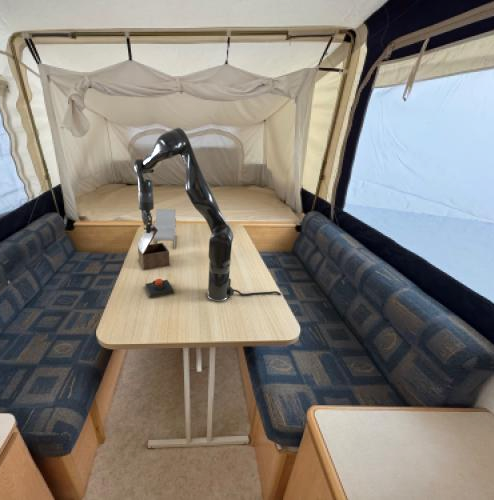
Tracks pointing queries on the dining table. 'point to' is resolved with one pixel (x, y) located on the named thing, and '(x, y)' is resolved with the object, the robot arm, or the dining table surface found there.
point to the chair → (165, 225)
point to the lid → (146, 239)
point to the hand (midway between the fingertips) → (147, 230)
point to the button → (158, 282)
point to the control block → (158, 289)
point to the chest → (154, 256)
